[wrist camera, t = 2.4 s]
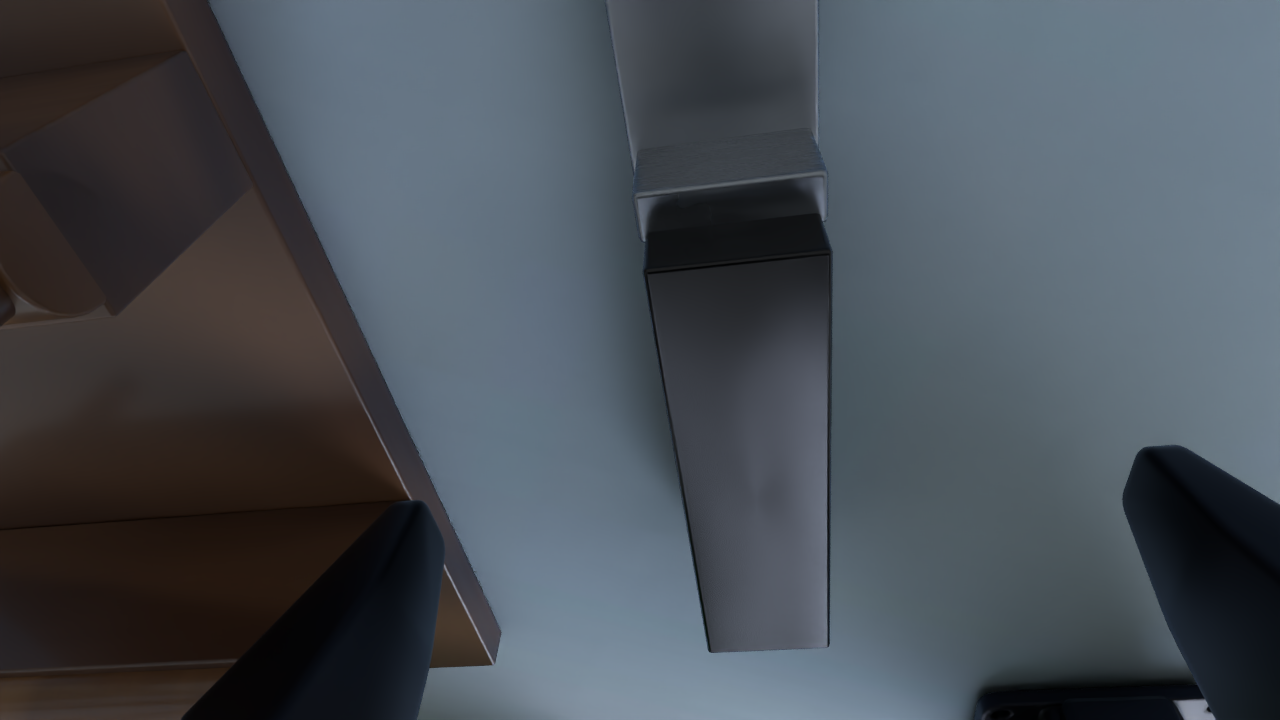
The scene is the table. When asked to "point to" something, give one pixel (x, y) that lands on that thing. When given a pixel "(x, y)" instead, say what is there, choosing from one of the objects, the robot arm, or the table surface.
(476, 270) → the table surface
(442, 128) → the table surface
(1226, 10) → the table surface
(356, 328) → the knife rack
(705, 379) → the kitchen knife
